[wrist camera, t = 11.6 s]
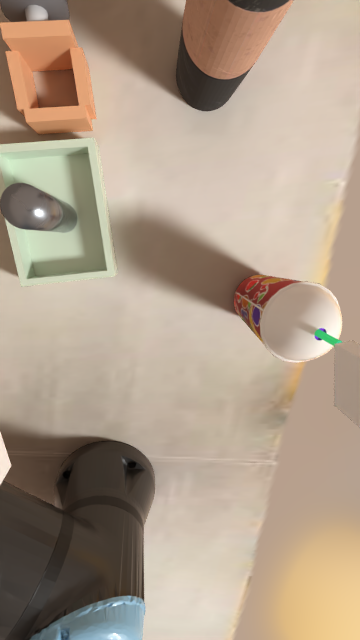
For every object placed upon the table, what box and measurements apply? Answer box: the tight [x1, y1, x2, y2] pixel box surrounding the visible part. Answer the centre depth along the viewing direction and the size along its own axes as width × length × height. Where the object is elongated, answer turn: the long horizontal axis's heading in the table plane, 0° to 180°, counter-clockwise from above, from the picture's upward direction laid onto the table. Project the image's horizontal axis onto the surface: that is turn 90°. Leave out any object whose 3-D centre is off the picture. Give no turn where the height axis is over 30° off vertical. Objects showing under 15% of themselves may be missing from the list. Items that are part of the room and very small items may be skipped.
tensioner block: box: [0, 0, 96, 134], centre depth 31 cm, size 10×7×8 cm
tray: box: [0, 138, 118, 287], centre depth 37 cm, size 15×11×4 cm
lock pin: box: [0, 183, 77, 233], centre depth 32 cm, size 4×4×13 cm
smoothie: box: [234, 275, 342, 363], centre depth 34 cm, size 8×8×20 cm
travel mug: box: [176, 0, 294, 111], centre depth 27 cm, size 8×8×20 cm
